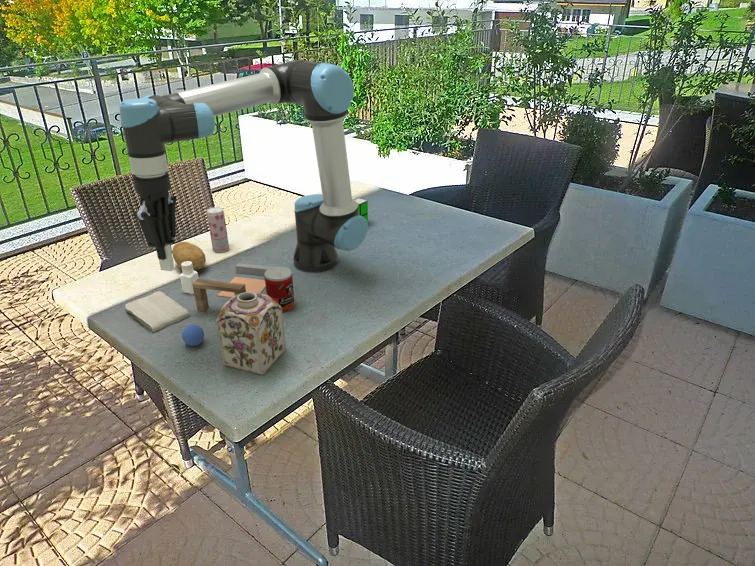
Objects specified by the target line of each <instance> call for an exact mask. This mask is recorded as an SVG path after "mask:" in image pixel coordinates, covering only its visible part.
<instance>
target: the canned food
mask: <svg viewBox="0 0 755 566" xmlns="http://www.w3.org/2000/svg"><path fill="white" fill-rule="evenodd" d="M271 267H272V268H270V269H268V270H266V271H265V276H264V280H265V284H266V287H265V291H266V295H268V296H269V297H271V298H272V299H273V300H274V301H275V302H277V303H278V304H279V305H280V306H281V307H282V313H284V312H288V310H289V311H290V310H292V309H294V307H295V301H296V300H295V292H294V279H293V273H292V270H291V269H290V268H289V267H286V266H271Z"/></svg>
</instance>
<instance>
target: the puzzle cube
mask: <svg viewBox="0 0 755 566" xmlns="http://www.w3.org/2000/svg"><path fill="white" fill-rule="evenodd" d="M352 199H353V200H355V201H356V202H357V204H358V211H359V215H360V216H363V217H364V218H365V219H366V221H367V223H368V224H369V215H368V214H369V208H368V207H369V206H368V205H369V202H368V200H366V199H362V198H359V197H355V196H352Z"/></svg>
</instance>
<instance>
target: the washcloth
mask: <svg viewBox="0 0 755 566" xmlns="http://www.w3.org/2000/svg"><path fill="white" fill-rule="evenodd" d="M124 310H125V311H126V312H127V313H129V314H130V316H131V317H132V318H133V319H134V320H135V321H137V322H138V323H140V324H141V325H142V326H144V327H145V328H146V329H147V330H148V331H150V332H151V333H156V332H158V331H160V330H162V329H164V328H166V327H167V326H168V327H169V326H170V325H173V324H176V323H178V322H181V321H183V320H184V319H187V318H189V317H190V316H191V314H190V311H189V310H188V309H186V308H185V307H184V306H182V304H181V305H180V304H179V303H178V302H177V301H175V300H174V299H172V297H169V296H168V295H166V293H164V292H163V291H161V290H158V291H154V292H153V293H151V294H149V295H147V296H144V297H141V298H137V299H135V300H132V301H130V302H128V303H125V306H124Z"/></svg>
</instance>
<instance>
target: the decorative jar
mask: <svg viewBox="0 0 755 566" xmlns="http://www.w3.org/2000/svg"><path fill="white" fill-rule="evenodd" d="M215 321H216V322H215V323H216V328H217V335H218V340H219V347H220V352H221V353H220V354H221V358H222V362H223V365H224V366H227V367H231V368H234V369H237V370H242V371H246V372H250V373H254V374H258V375H262V376H263V375H264V374H265V373H266V372H267V371H268V370H269V369H270V368H271V366H273V364H274V363H275V362H276V361H277V360H278V359H279V358H280V356H281V355H282V354H284V352H285V351H287V350H286V349H287V348H286V347H287V346H286V345H287V344H286V333H285V325H284V323H285V322H284V316H283V312H282V307H281V306H280V305H279V304H278V303H277V302H275V301H274V300H273V299H272V298H271V297H269V296H268V295H267V294H264V293H256V292H245V293H241V294H239V295H235V296H233V297H232V298H231V297H229V298H228V300H226V302H225V303H223V304H222V307H221V309H220V312H219V313H218V315H217V318H216V320H215Z"/></svg>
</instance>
